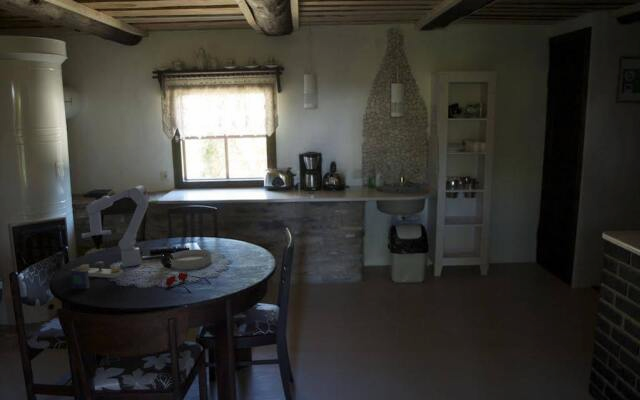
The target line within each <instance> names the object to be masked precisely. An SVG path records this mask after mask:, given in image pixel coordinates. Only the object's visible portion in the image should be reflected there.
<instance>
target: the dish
mask: <svg viewBox="0 0 640 400" xmlns="http://www.w3.org/2000/svg"><path fill="white" fill-rule="evenodd" d="M211 254H212V253H211V251H210V250H206V249H197V248H196V249H194V248H193V249H185V250H180V251H175V252H173V253H172V254H170V255H172V256H173V258H174V259H171V258H170V257H169V265H170V264H171V266H170V267H171V268H172V269H177V270H194V269H199V268H203V267H206V266H208V265H210V264H211V263H212V257H211ZM170 261H171V263H170Z"/></svg>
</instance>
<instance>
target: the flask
mask: <svg viewBox="0 0 640 400" xmlns="http://www.w3.org/2000/svg"><path fill="white" fill-rule="evenodd" d="M70 276H71V286H72V287H71V288H72V289H74V290H83V291H84V290H90V280H89V276H88V270H81V265H80V266H76V267H75V268H72V269H70Z"/></svg>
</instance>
